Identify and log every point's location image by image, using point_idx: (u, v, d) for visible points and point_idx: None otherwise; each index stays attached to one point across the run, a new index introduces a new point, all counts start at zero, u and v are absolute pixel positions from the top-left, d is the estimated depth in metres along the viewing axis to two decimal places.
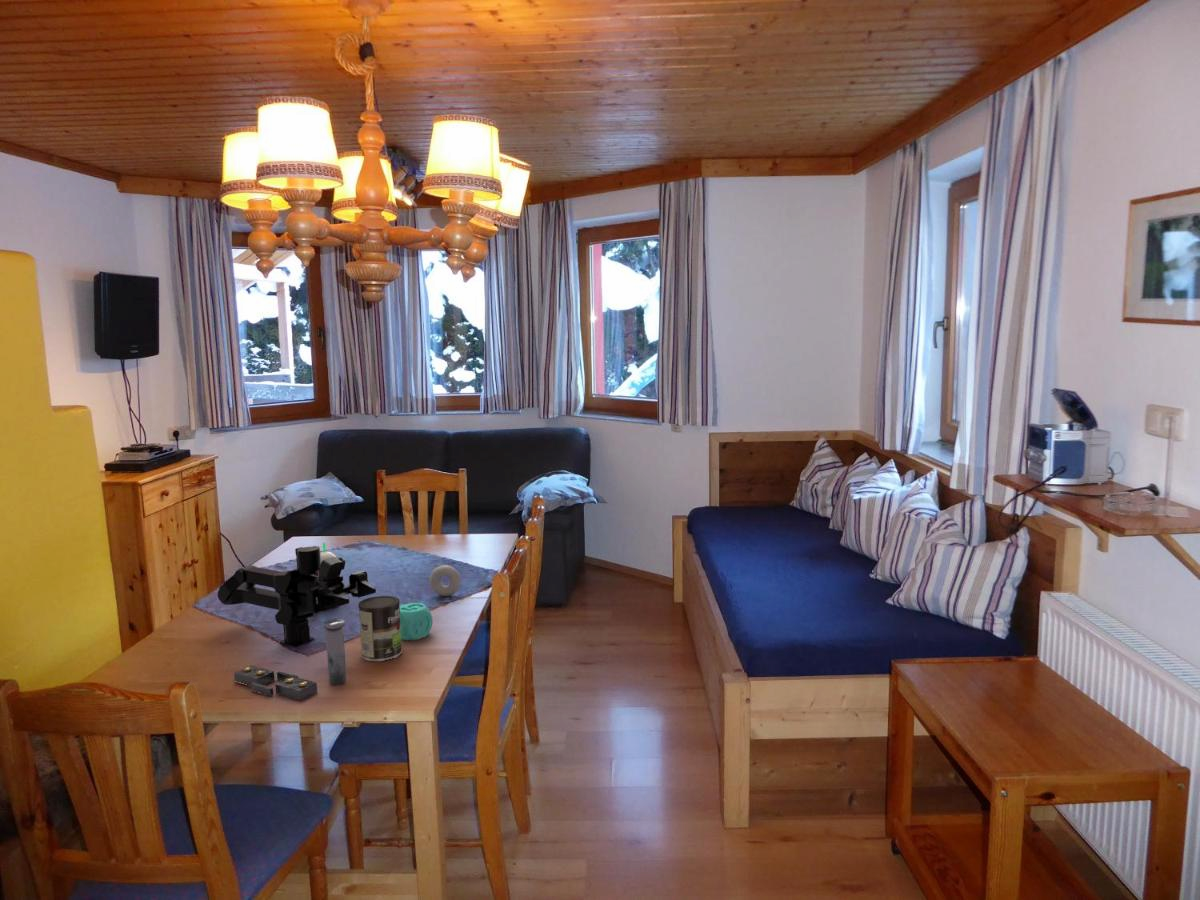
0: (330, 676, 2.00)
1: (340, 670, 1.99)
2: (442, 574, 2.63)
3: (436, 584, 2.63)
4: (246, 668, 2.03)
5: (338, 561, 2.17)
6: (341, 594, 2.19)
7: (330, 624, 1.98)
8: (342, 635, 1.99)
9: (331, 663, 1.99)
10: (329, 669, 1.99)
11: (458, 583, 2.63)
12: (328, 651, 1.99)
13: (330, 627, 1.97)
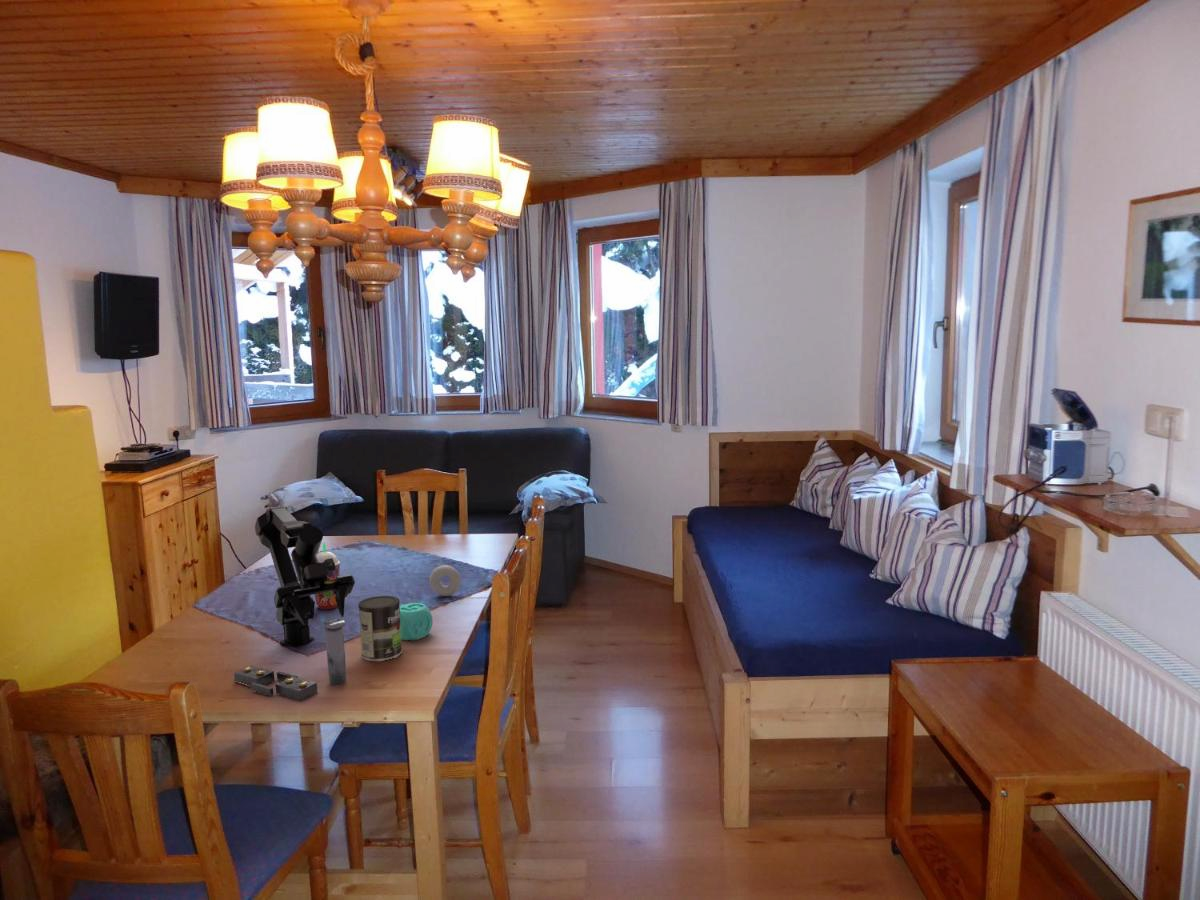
0: (330, 676, 2.00)
1: (340, 670, 1.99)
2: (442, 574, 2.63)
3: (436, 584, 2.63)
4: (246, 668, 2.03)
5: (324, 572, 2.05)
6: None
7: (330, 624, 1.98)
8: (342, 635, 1.99)
9: (331, 663, 1.99)
10: (329, 669, 1.99)
11: (458, 583, 2.63)
12: (328, 651, 1.99)
13: (330, 627, 1.97)
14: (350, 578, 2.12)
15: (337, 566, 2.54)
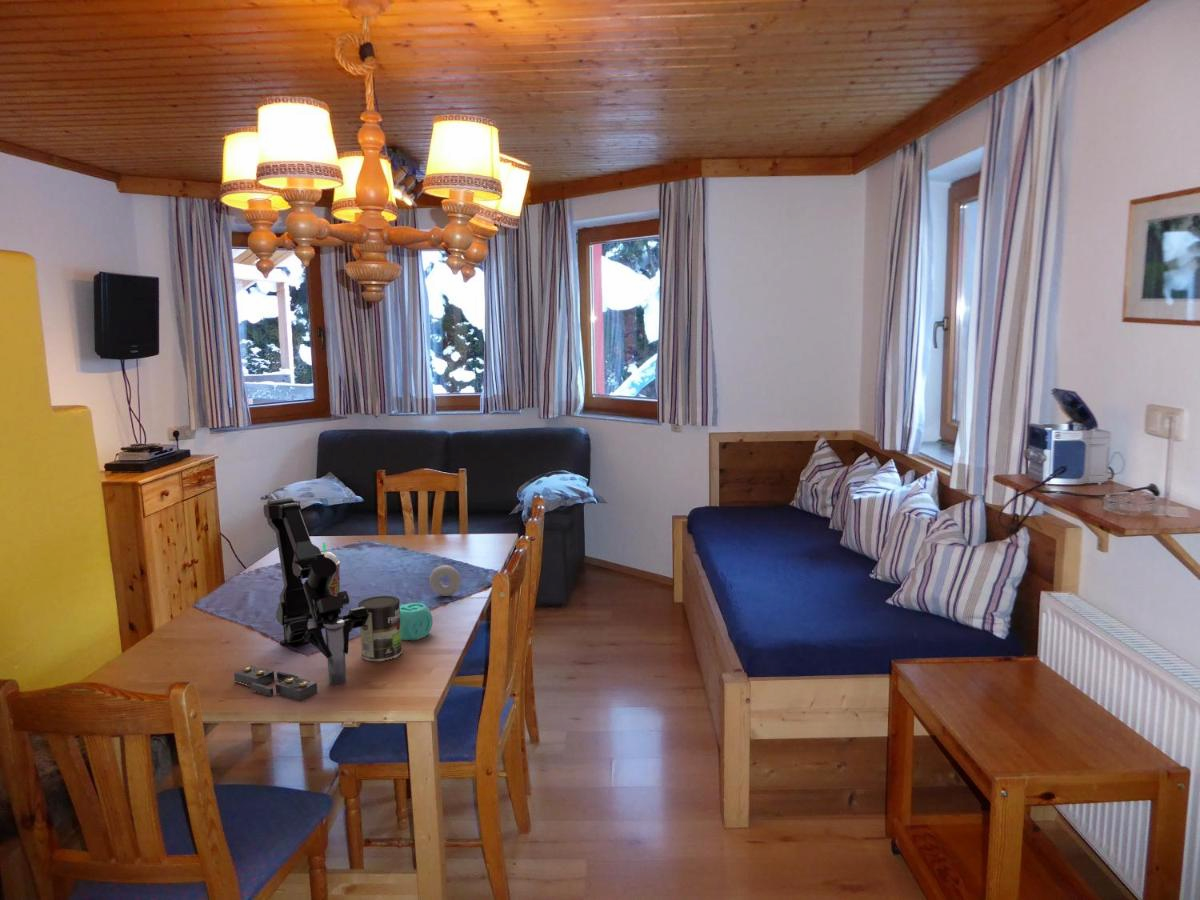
0: (330, 676, 2.00)
1: (340, 670, 1.99)
2: (442, 574, 2.63)
3: (436, 584, 2.63)
4: (246, 668, 2.03)
5: (337, 606, 1.99)
6: None
7: (330, 624, 1.98)
8: (342, 635, 1.99)
9: (331, 663, 1.99)
10: (329, 669, 1.99)
11: (458, 583, 2.63)
12: None
13: (330, 627, 1.97)
14: (364, 611, 2.06)
15: (337, 566, 2.54)
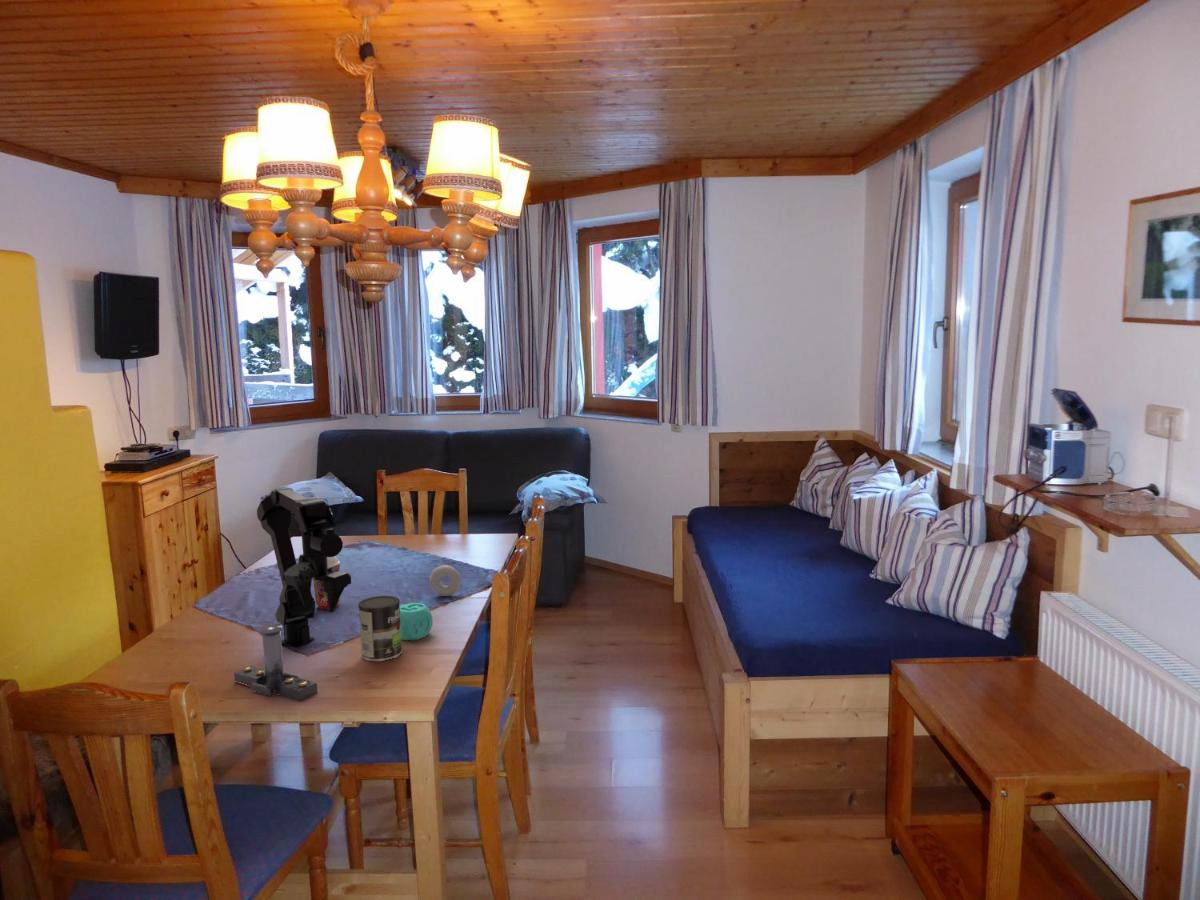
0: None
1: (273, 676, 1.97)
2: (442, 574, 2.63)
3: (436, 584, 2.63)
4: (246, 668, 2.03)
5: (295, 584, 2.06)
6: None
7: (265, 628, 1.96)
8: (277, 641, 1.96)
9: (265, 668, 1.97)
10: (265, 673, 1.98)
11: (458, 583, 2.63)
12: (264, 655, 1.97)
13: (262, 631, 1.95)
14: (331, 585, 2.07)
15: (337, 566, 2.54)
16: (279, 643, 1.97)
